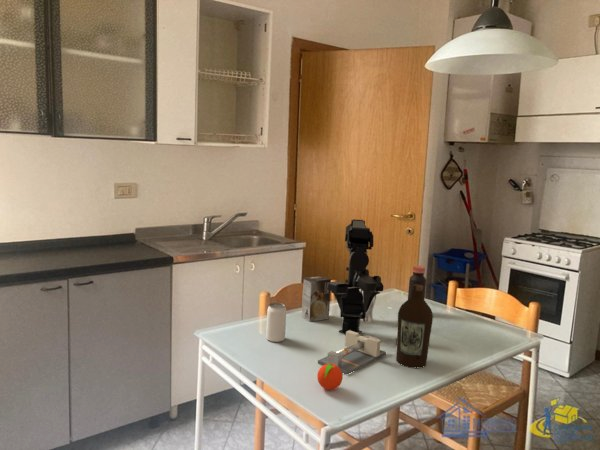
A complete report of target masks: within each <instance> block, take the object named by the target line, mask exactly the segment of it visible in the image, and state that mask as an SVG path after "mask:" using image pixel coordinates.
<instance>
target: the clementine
mask: <svg viewBox="0 0 600 450" xmlns="http://www.w3.org/2000/svg"><path fill="white" fill-rule="evenodd" d="M316 375H317V376H316V377H317V381H318V384H319V385H320V386H321V387H322V388H323V389H325V390H327V391H333V390H336V389H337V388H339V387H340V386H341V384H342V382H343V373H342V372H341V370H340V368H339V367H338V366H336V365H335V364H331V363H328V364H325V365H321V367H319V369H318V371H317V374H316Z"/></svg>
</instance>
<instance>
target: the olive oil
mask: <svg viewBox="0 0 600 450" xmlns="http://www.w3.org/2000/svg"><path fill="white" fill-rule="evenodd" d="M433 320H434V314H433V310H432V309H431V307H430V306H429V304H428V303H427V302H426V301H425V300H424V299H423V286H422V285H418V284H415V285H413V289H412V296H411V298H409V299H408V298H407V300H405V302H403V303H402V304H401V305H400V307H399V309H398V312H397V334H396V335H397V336H396V338H397V339H396V355H395V361H396V363H398V364H399V363H400V364H399V365H401V364H402V365H401V366H403V365H404V366H403V367H405V366H408V367H407V368H410V367H416V368H415V369H418V368H417V367H422V368H424V367H425V365H426V366H427V364H428V353H429V346H430V340H431V333H432V326H433ZM423 366H424V367H423Z"/></svg>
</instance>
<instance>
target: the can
mask: <svg viewBox="0 0 600 450" xmlns="http://www.w3.org/2000/svg"><path fill="white" fill-rule="evenodd" d="M286 321H287V308H286V305H285V304H284V303H281V302H272V303H269V304H268V307H267V310H266V330H265V331H266V333H265V334H266V335H265V336H266V337H265V338H266V340H267V341H268V342H271V343H281V342H283V341H284V340H285V337H286V324H287V322H286Z"/></svg>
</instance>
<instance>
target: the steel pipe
mask: <svg viewBox="0 0 600 450" xmlns="http://www.w3.org/2000/svg"><path fill="white" fill-rule="evenodd" d="M363 337H366V338H370V337H372V338H375V339H378V338H377V337H374V336H371V335H365V336H363ZM378 340H379V339H378ZM364 344H365V342H363V341H361V342H359V343H356V344H354V345H352V346H350V347H345V349H344V348H343V349H342V348H341V351H340V350H338V351H339V352H338V351H336V352H335V351H334V350H330V351H328V352H327V356H326V357H327V364H328V363H331V364H335V365H336V366H338V367H341V366H342V357H344V356H347V355H348V354H350V353H352V352H355V351H357V350H359V349H361V348H363V347H364Z"/></svg>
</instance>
